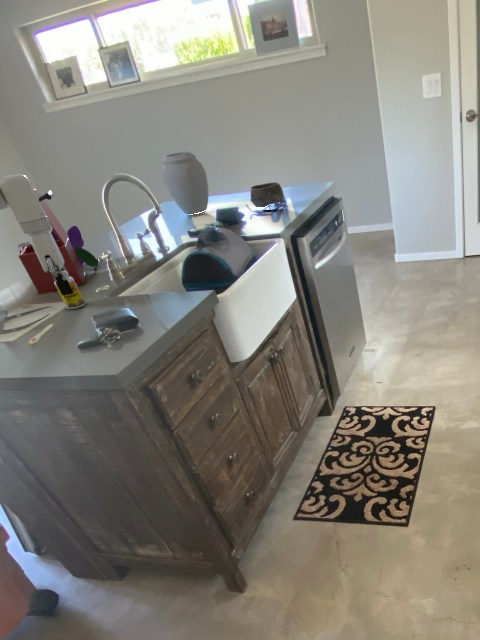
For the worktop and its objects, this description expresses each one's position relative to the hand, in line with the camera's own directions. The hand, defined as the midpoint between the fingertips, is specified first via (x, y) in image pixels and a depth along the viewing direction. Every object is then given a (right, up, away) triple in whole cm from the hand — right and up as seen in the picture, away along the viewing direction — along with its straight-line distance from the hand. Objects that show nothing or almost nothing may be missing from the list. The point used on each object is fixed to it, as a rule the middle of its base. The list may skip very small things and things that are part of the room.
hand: (68, 290), depth 159 cm
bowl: (+45, +70, +78) cm, 114 cm away
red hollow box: (-17, +13, +25) cm, 33 cm away
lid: (-14, +30, +13) cm, 36 cm away
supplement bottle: (+1, -4, +3) cm, 5 cm away
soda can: (-30, +19, +34) cm, 49 cm away
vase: (+7, +76, +91) cm, 118 cm away
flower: (-16, +25, +38) cm, 48 cm away
